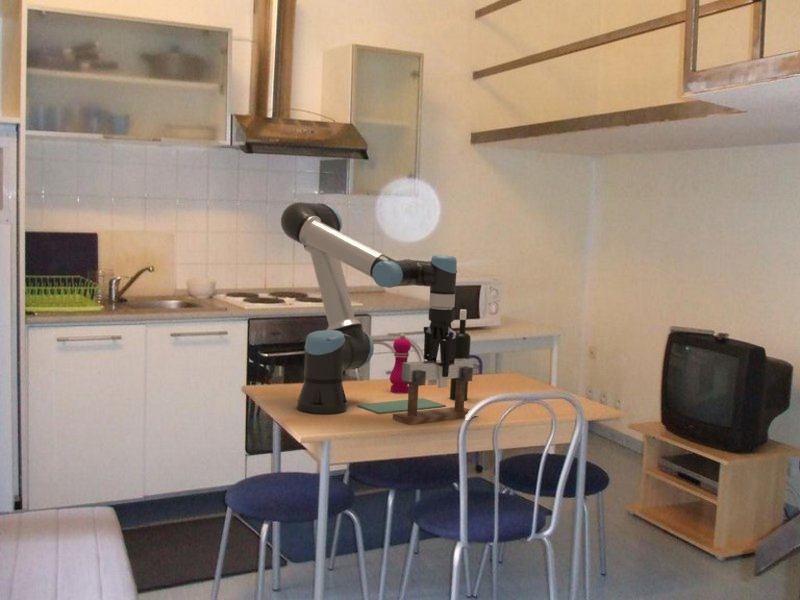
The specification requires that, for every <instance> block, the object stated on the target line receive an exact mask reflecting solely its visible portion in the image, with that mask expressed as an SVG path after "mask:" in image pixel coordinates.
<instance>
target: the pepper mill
mask: <svg viewBox="0 0 800 600" xmlns="http://www.w3.org/2000/svg"><path fill="white" fill-rule="evenodd" d="M392 345H393V350H394V355H393V356H394V358H395V361H394V365H393V368H392V370H391V372H390V376H389V381H390V383H391V384H392V385H390V392H391V393H394V394H395V393H396V394H408V392H409V383H405V382H402V381H403V380H402V363H403V362H408V358H409V357H410V352H409V351H410V350H411V348H412V343H411V341H410V340H409V339H408V338H406V334H405V333H400V335H399V337H397V338H396V339H395V340H394V341H393V344H392Z"/></svg>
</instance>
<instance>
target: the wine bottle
mask: <svg viewBox="0 0 800 600" xmlns="http://www.w3.org/2000/svg"><path fill="white" fill-rule="evenodd" d="M466 325H467V309H466V308H465V309H462V308H461V309H460V311H459V331H458V336H457V339H456V349H455V359H462V358H466V359H470V358H471V357H470V355H471V340H472V339H471V335H470V334H469V333H466ZM468 386H469V381H467V382H465V396H464V401H467V400H468V391H469V387H468ZM449 390H450V393H449V399H450V400H452V401H455V391H456V379H453V378H450V387H449Z"/></svg>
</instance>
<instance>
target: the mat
mask: <svg viewBox="0 0 800 600" xmlns="http://www.w3.org/2000/svg"><path fill="white" fill-rule="evenodd" d="M356 407H357V408H361V409H364V410H366V411H370V412H371V413H375V414H378V415H382V414H395V413H404V412H407V411H408V399H401V400H390V401H380V402H371V403H360V404H356ZM440 408H447V405H446V404H445V403H444V404H443V403H440V402H437V401H433V400H430V399H427V398H424V397H418V404H417V411H422V410H431V409H440Z"/></svg>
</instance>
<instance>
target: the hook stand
mask: <svg viewBox="0 0 800 600" xmlns="http://www.w3.org/2000/svg"><path fill="white" fill-rule="evenodd" d="M472 375H473V376H474V367H473V368H471V367H469V368H463V377H462V378H453V379H456V391H455V400H454V406H452V407H441V408H432V409H423V410H417V404H418V398H419V387H420V386H426V381H425V380H426V371H417V372H416V374H415V382H408V381H405V380H403V381H402V382H405V383H409V384H408V386H409V392H408V393H407V395H408V397H407V400H408V411H405V412H396V413H392V420H395V421H397V422H399V423H402V424H406V425H409V426H410V425H420V424H426V423H434V422H435V423H436V422H443V421H451V420H452V421H453V420H460V419H465V418H464V417H465V415H466V414H467V413H468V411H469V410H470V408H468V407H467V408H466V407H465V400H464V396H465V382H467V381H468V382H472V381H473V377H472Z"/></svg>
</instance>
